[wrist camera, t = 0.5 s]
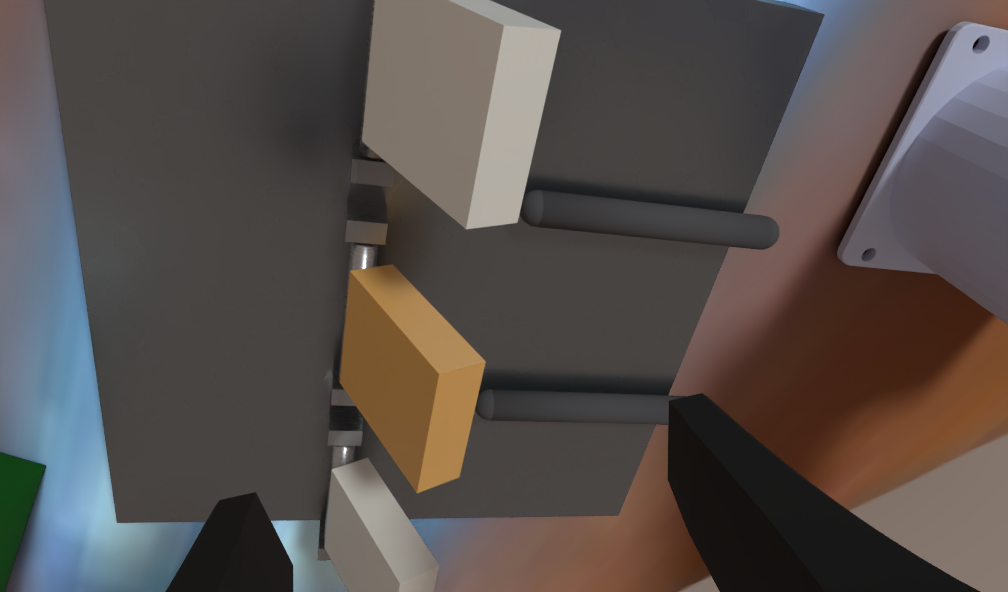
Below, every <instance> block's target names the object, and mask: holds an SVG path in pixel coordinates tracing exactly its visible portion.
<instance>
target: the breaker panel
mask: <svg viewBox="0 0 1008 592" xmlns="http://www.w3.org/2000/svg"><path fill="white" fill-rule="evenodd" d="M491 1H493V2H495V3H498V4H500V5H502V6H505V7H507V8H510V9H512V10H514V11H517V12H519V13H521V14H524V15H526V16H529V17H531V18H533V19H536V20H538V21H540V22H543V23H545V24H547V25H550V26H552V27H555V28H557V29H559V30H561V34H560V38H559V42H558V47H557V51H556V56H555V60H554V64H553V69H552V73H551V77H550V82H549V86H548V91H547V95H546V99H545V104H544V108H543V113H542V117H541V121H540V126H539V130H538V135H537V139H536V143H535V148H534V152H533V156H532V161H531V165H530V170H529V174H528V178H527V183H526V187H525V192H524V195H525V194H527V193H528V192H530V191H534V190H544V191H552V192H561V193H570V194H578V195H587V196H596V197H604V198H613V199H622V200H630V201H639V202H648V203H656V204H665V205H674V206H683V207H691V208H700V209H709V210H717V211H726V212H735V213H743V212H744V209H745V207H746V205H747V202H748V200H749V197H750V195H751V192H752V190H753V188H754V185H755V183H756V180H757V178H758V175H759V173H760V171H761V168H762V166H763V163H764V161H765V158H766V156H767V154H768V151H769V149H770V146H771V144H772V141H773V139H774V137H775V134H776V132H777V129H778V127H779V124H780V122H781V120H782V117H783V115H784V112H785V110H786V107H787V105H788V103H789V100H790V98H791V95H792V93H793V90H794V88H795V86H796V83H797V81H798V78H799V76H800V73H801V71H802V69H803V66H804V64H805V61H806V59H807V56H808V54H809V52H810V49H811V47H812V44H813V42H814V39H815V37H816V35H817V32H818V30H819V27H820V25H821V22H822V20H823V18H824V14H821V13H818V12H815V11H812V10H810V9H807V8H804V7H801V6H798V5H795V4H791V3H786V2H781V1H776V0H491ZM44 3H45V10H46V17H47V24H48V32H49V39H50V46H51V53H52V60H53V67H54V75H55V82H56V89H57V96H58V103H59V110H60V118H61V125H62V132H63V139H64V146H65V153H66V160H67V168H68V175H69V182H70V189H71V196H72V203H73V211H74V218H75V225H76V232H77V239H78V246H79V254H80V261H81V268H82V275H83V282H84V289H85V297H86V304H87V311H88V318H89V325H90V332H91V340H92V347H93V354H94V361H95V368H96V375H97V383H98V390H99V397H100V404H101V411H102V418H103V426H104V433H105V440H106V447H107V454H108V461H109V468H110V476H111V483H112V490H113V497H114V504H115V511H116V519H117V523H135V522H205V521H207V519H208V518H209V516H210V514H211V512H212V511H213V509H214V507H215V505H216V504H217V503H218V501H219V500H222V499H226V498H231V497H235V496H240V495H244V494H249V493H253V492H256V493H257V495H258V497H259V499H260V501H261V503H262V505H263V507H264V509H265V511H266V513H267V515H268V517H269V519H270V521H275V520H320V528H319V546H318V560H331V559H330V557H329V555H328V553H327V551H326V549H325V548H324V546H325V535H326V524H327V513H328V503H329V492H330V481H331V470H332V469H335V468H338V467H341V466H344V465H347V464H350V463H353V462H356V461H359V460H362V459H365V458H368V459H369V460H370V462H371V463H372V465H373V466H374V468H375V469H376V471H377V472H378V474H379V475H380V477H381V478H382V480H383V481H384V483H385V484H386V486H387V487H388V489H389V490H390V492H391V493H392V495H393V496H394V498H395V500H396V501H397V503H398V504H399V506H400V507H401V509H402V510H403V512H404V513H405V515H406V516H407V518H408V519H414V518H484V517H553V516H618V515H619V513H620V510H621V508H622V506H623V503H624V501H625V498H626V496H627V493H628V491H629V489H630V486H631V484H632V481H633V479H634V476H635V474H636V472H637V469H638V467H639V464H640V462H641V459H642V457H643V455H644V452H645V450H646V447H647V445H648V442H649V440H650V438H651V435H652V433H653V430H654V428H655V425H656V424H617V423H574V422H531V421H489V420H485V419H482V418H481V417H480V416H479V415H478V414H477V413H476V410H475V411H474V415H473V420H472V424H471V429H470V433H469V437H468V442H467V446H466V451H465V455H464V459H463V464H462V468H461V473H460V477H459V478H456V479H454V480H451V481H448V482H446V483H443V484H440V485H438V486H435V487H433V488H430V489H427V490H425V491H422V492H419V493H416V491H415V490H414V489H413V487H412V486H411V484H410V483H409V481H408V480H407V478H406V477H405V476H404V474H403V473H402V471H401V470H400V468H399V467H398V466H397V464H396V463H395V461H394V460H393V458H392V457H391V455H390V454H389V453H388V451H387V450H386V448H385V447H384V445H383V444H382V443H381V441H380V440H379V438H378V437H377V435H376V434H375V433H374V431H373V430H372V428H371V427H370V425H369V424H368V422H367V421H366V420H365V418H364V417H363V415H362V414H361V412H360V411H359V410H358V408H357V407H356V405H355V404H354V402H353V401H352V399H351V398H350V397H349V395H348V394H347V392H346V391H345V389H344V388H343V387H342V385H341V384H340V373H341V362H342V351H343V340H344V329H345V319H346V308H347V297H348V286H349V275H350V271H352V270H359V269H365V268H372V267H379V266H385V265H392V264H393V265H394V266H395V267H396V268H397V269H398V270H399V272H400V273H401V274H402V275H403V276H404V277H405V278H406V279H407V280H408V281H409V282H410V283H411V284H412V285H413V286H414V287H415V288H416V289H417V290H418V291H419V292H420V293H421V294H422V296H423V297H424V298H425V299H426V300H427V301H428V302H429V303H430V304H431V305H432V306H433V307H434V308H435V309H436V310H437V311H438V312H439V313H440V314H441V315H442V316H443V317H444V318H445V319H446V321H447V322H448V323H449V324H450V325H451V326H452V327H453V328H454V329H455V330H456V331H457V332H458V333H459V334H460V335H461V336H462V337H463V338H464V339H465V340H466V341H467V342H468V343H469V345H470V346H471V347H472V348H473V349H474V350H475V351H476V352H477V353H478V354H479V355H480V356H481V357H482V358H483V359H484V360H485V361H486V363H485V367H484V372H483V376H482V380H481V385H480V389H479V393H481V392H482V391H484V390H487V389H498V390H526V391H554V392H582V393H610V394H639V395H667V396H668V394H669V391H670V389H671V387H672V384H673V382H674V379H675V377H676V374H677V372H678V370H679V367H680V365H681V362H682V360H683V357H684V355H685V353H686V350H687V348H688V345H689V343H690V341H691V338H692V336H693V333H694V331H695V328H696V326H697V324H698V321H699V319H700V316H701V314H702V311H703V309H704V307H705V304H706V302H707V299H708V297H709V294H710V292H711V290H712V287H713V285H714V282H715V280H716V277H717V275H718V273H719V270H720V268H721V265H722V263H723V260H724V258H725V256H726V253H727V251H728V248H729V246H720V245H710V244H700V243H690V242H680V241H670V240H660V239H650V238H640V237H630V236H620V235H610V234H600V233H590V232H580V231H570V230H560V229H550V228H541V227H533V226H530V225H528V224H527V223H525V222H524V221H523V219H522V218H521V216H520V214H519V218H518V222H517V223H512V224H504V225H496V226H489V227H481V228H473V229H465V228H464V227H463V226H462V225H460V224H459V223H458V222H457V221H456V220H454V219H453V218H452V217H451V216H450V215H449V214H447V213H446V212H445V211H444V210H443V209H441V208H440V207H439V206H438V205H437V204H435V203H434V202H433V201H432V200H431V199H430V198H428V197H427V196H426V195H425V194H424V193H422V192H421V191H420V190H419V189H418V188H417V187H415V186H414V185H413V184H412V183H411V182H409V181H408V180H407V179H406V178H405V177H404V176H402V175H401V174H400V173H399V172H398V171H396V170H395V169H394V168H393V167H392V166H391V165H389V164H388V163H387V162H386V161H385V160H383V159H382V158H381V157H380V156H379V155H378V154H376V153H375V152H374V151H373V150H372V149H370V148H369V147H368V146H367V145H366V144H365V143H363V142H362V134H363V124H364V113H365V102H366V91H367V80H368V69H369V59H370V48H371V37H372V26H373V15H374V4H375V0H44ZM478 395H479V394H478Z"/></svg>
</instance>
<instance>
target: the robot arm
mask: <svg viewBox="0 0 1008 592" xmlns="http://www.w3.org/2000/svg"><path fill="white" fill-rule="evenodd" d="M978 38H979V42H978V44H977V45H976V47H975V48H973V44H974V42H975V41H976V40H977V39H978ZM972 48H973V49H972ZM867 249H868V251H867V252H866V253H865V254H863V253H864V252H865V251H866V250H867ZM862 254H863V255H862ZM837 257H838V258H839V259H840V260H841V261H842V262H843V263H844V264H846V265H849V266H859V267H869V268H880V269H890V270H900V271H910V272H921V273H931V274H938V275H939V276H941V277H942V278H943V279H945V280H946V281H947V282H949V283H950V284H952V285H953V286H954V287H956V288H957V289H959V290H960V291H961V292H963V293H964V294H966V295H967V296H968V297H970V298H971V299H973V300H974V301H975V302H977V303H978V304H979V305H981V306H982V307H984V308H985V309H986V310H988V311H989V312H991V313H992V314H993V315H995V316H996V317H998V318H999V319H1000V320H1002V321H1003V322H1004V323H1006V324H1007V325H1008V30H1004V29H1000V28H995V27H990V26H986V25H981V24H977V23H972V22H960V23H958V24H956V25H955V26H953V27H952V28H951V29H950V30H949V31H948V33H947V34H946V36H945V38H944V40H943V42H942V44H941V45H940V47H939V49H938V51H937V53H936V55H935V57H934V59H933V61H932V63H931V65H930V67H929V69H928V71H927V73H926V75H925V77H924V79H923V81H922V83H921V85H920V87H919V89H918V91H917V93H916V95H915V97H914V99H913V101H912V103H911V105H910V107H909V109H908V111H907V113H906V115H905V117H904V119H903V121H902V123H901V125H900V127H899V129H898V131H897V133H896V135H895V137H894V139H893V141H892V143H891V144H890V146H889V148H888V150H887V152H886V154H885V156H884V158H883V160H882V162H881V164H880V166H879V168H878V170H877V172H876V174H875V176H874V178H873V180H872V182H871V184H870V186H869V188H868V190H867V192H866V194H865V196H864V198H863V200H862V202H861V204H860V206H859V208H858V210H857V212H856V214H855V216H854V218H853V220H852V222H851V224H850V226H849V228H848V230H847V232H846V234H845V236H844V238H843V240H842V242H841V244H840V245H839V247H838V251H837ZM668 481H669V483H670V486H671V489H672V491H673V494H674V496H675V499H676V502H677V504H678V507H679V510H680V512H681V514H682V517H683V519H684V522H685V524H686V527H687V529H688V532H689V534H690V536H691V538H692V540H693V542H694V544H695V546H696V547H697V549H698V551H699V553H700V555H701V557H702V559H703V561H704V563H705V565H706V566H707V568H708V570H709V572H710V574H711V576H712V578H713V580H714V582H715V583H716V585H717V587H718V589H719V591H720V592H980V591H978V590H976V589H974V588H972V587H970V586H969V585H967V584H965V583H963V582H961V581H959V580H957V579H956V578H954V577H952V576H951V575H949V574H947V573H945V572H944V571H942V570H940V569H939V568H937V567H935V566H933V565H932V564H930V563H928V562H927V561H925V560H923V559H922V558H920V557H918V556H917V555H915V554H914V553H912V552H910V551H909V550H907V549H906V548H904V547H902V546H901V545H899V544H898V543H896V542H894V541H893V540H891V539H890V538H888V537H887V536H885V535H884V534H882V533H881V532H879V531H878V530H876V529H874V528H873V527H872V526H870V525H869V524H867V523H866V522H864V521H863V520H861V519H860V518H858V517H857V516H856V515H854V514H853V513H851V512H850V511H849V510H847V509H846V508H844V507H843V506H842V505H840V504H839V503H837V502H836V501H835V500H833V499H832V498H830V497H829V496H828V495H826V494H825V493H824V492H822V491H821V490H820V489H818V488H817V487H816V486H814V485H813V484H812V483H810V482H809V481H808V480H806V479H805V478H804V477H803V476H801V475H800V474H799V473H798V472H796V471H795V470H794V469H792V468H791V467H790V466H789V465H787V464H786V463H785V462H784V461H782V460H781V459H780V458H778V457H777V456H776V455H775V454H774V453H772V452H771V451H770V450H769V449H767V448H766V447H765V446H764V445H763V444H761V443H760V442H759V441H758V440H757V439H756V438H754V437H753V436H752V435H751V434H750V433H748V432H747V431H746V430H745V429H744V428H743V427H741V426H740V425H739V424H738V423H737V422H736V421H734V420H733V419H732V418H731V417H730V416H729V415H728V414H726V413H725V412H724V411H723V410H722V409H721V408H720V407H719V406H717V405H716V404H715V403H714V402H713V401H712V400H711V399H709V398H708V397H707V396H705V395H704V394H703V393H701V394H697V395H692V396H688V397H683V398H679V399H674V400H670V401H669V427H668ZM166 592H293V564H292V562H291V560H290V558H289V556H288V554H287V552H286V550H285V548H284V546H283V544H282V542H281V541H280V539H279V537H278V535H277V533H276V531H275V529H274V527H273V525H272V523H271V521H270V519H269V517H268V515H267V513H266V511H265V509H264V507H263V505H262V503H261V501H260V499H259V497H258V495H257V493H256V492H253V493H249V494H244V495H240V496H235V497H231V498H226V499H222V500H219V501H218V503H217V504H216V505H215V507H214V509H213V511H212V512H211V514H210V516H209V518H208V519H207V521H206V523H205V525H204V526H203V528H202V530H201V532H200V533H199V535H198V537H197V539H196V540H195V542H194V544H193V546H192V548H191V549H190V551H189V553H188V555H187V556H186V558H185V560H184V561H183V563H182V565H181V567H180V568H179V570H178V572H177V574H176V575H175V577H174V579H173V580H172V582H171V584H170V585H169V587H168V589H167V590H166Z"/></svg>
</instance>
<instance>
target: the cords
mask: <svg viewBox="0 0 1008 592" xmlns="http://www.w3.org/2000/svg"><path fill="white" fill-rule="evenodd" d="M520 216H521V218H522V219H523V221H524V222H525V223H527V224H528V225H530V226H533V227H541V228H550V229H560V230H570V231H580V232H590V233H600V234H610V235H620V236H630V237H640V238H650V239H660V240H670V241H680V242H690V243H700V244H710V245H720V246H730V247H740V248H750V249H767V248H769V247H771V246H772V245H774V244H775V243H776V241H777V239H778V237H779V227H778V225H777V223H776V222H775V221H774V220H773V219H772V218H770V217H767V216H761V215H752V214H743V213H735V212H726V211H717V210H709V209H700V208H691V207H683V206H674V205H665V204H656V203H648V202H639V201H630V200H622V199H613V198H604V197H596V196H587V195H578V194H570V193H561V192H552V191H544V190H534V191H530V192H528V193H527V194H525V195H524V196H523V200H522V205H521V209H520ZM683 397H687V396H667V395H639V394H610V393H582V392H554V391H526V390H498V389H487V390H484V391H482V392H481V393H479V395H478V398H477V402H476V407H475V410H476V413H477V414H478V415H479V416H480V417H481V418H482V419H485V420H489V421H531V422H574V423H617V424H660V425H669V401H670V400H674V399H679V398H683Z"/></svg>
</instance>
